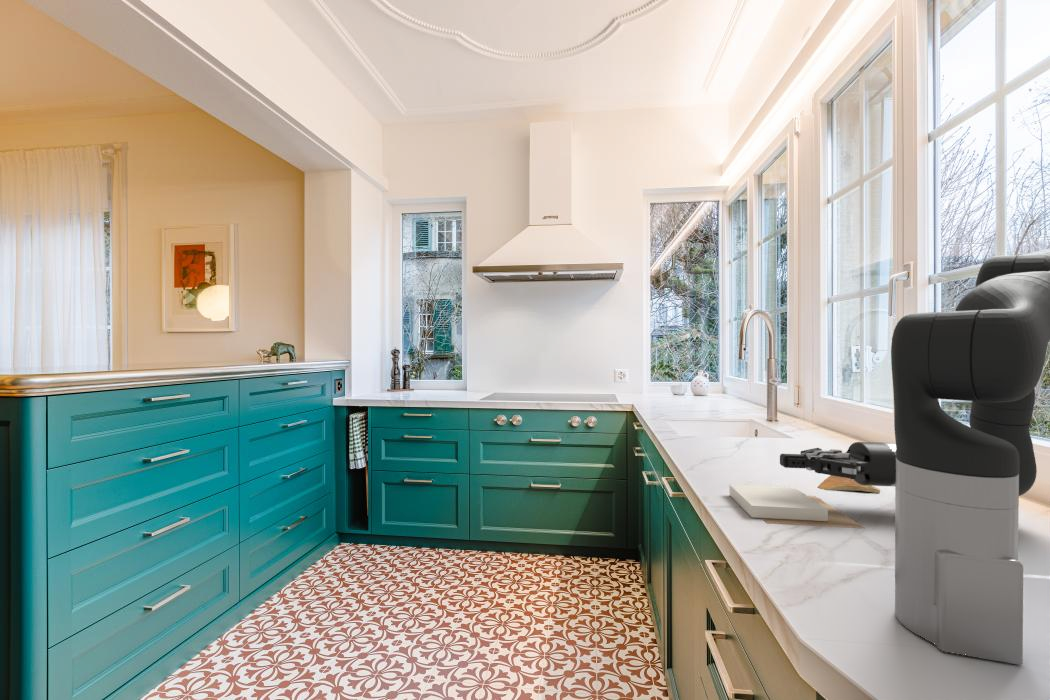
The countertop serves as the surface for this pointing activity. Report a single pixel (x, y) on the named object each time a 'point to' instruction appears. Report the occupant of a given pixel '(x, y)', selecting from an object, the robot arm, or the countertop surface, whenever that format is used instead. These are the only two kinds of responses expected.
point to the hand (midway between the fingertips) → (781, 460)
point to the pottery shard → (845, 485)
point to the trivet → (833, 521)
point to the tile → (777, 503)
